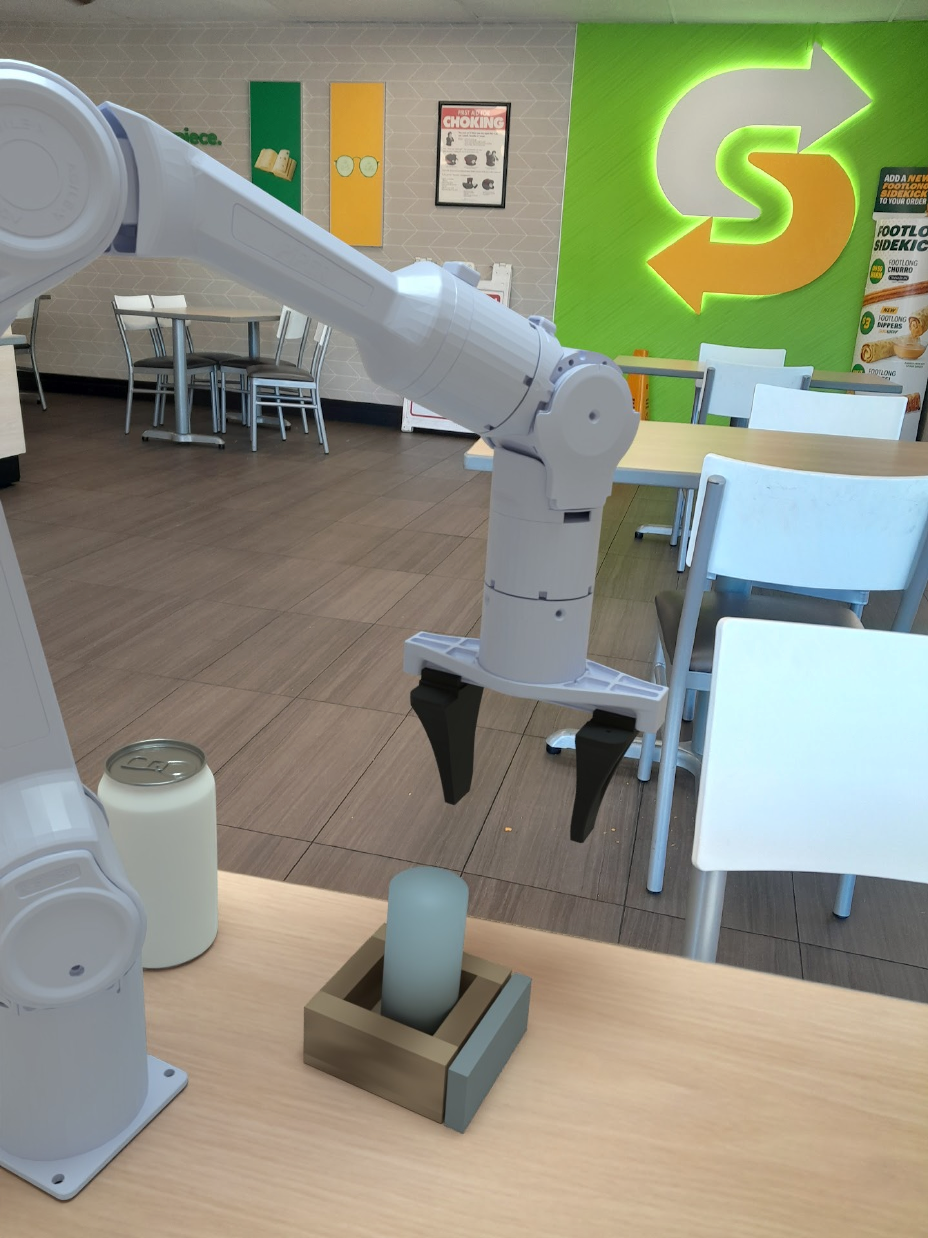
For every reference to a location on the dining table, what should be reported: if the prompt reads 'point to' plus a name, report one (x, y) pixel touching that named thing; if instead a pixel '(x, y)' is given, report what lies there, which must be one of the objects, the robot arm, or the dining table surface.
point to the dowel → (423, 947)
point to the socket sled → (393, 1030)
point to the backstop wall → (487, 1053)
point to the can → (166, 843)
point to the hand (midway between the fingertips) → (517, 814)
